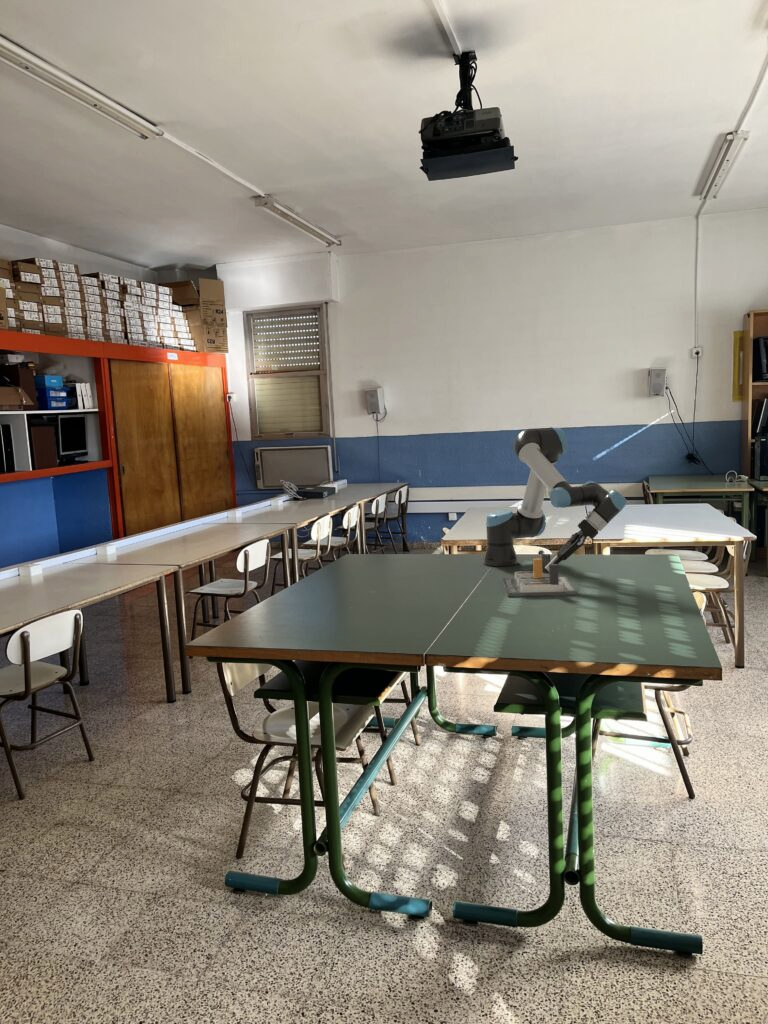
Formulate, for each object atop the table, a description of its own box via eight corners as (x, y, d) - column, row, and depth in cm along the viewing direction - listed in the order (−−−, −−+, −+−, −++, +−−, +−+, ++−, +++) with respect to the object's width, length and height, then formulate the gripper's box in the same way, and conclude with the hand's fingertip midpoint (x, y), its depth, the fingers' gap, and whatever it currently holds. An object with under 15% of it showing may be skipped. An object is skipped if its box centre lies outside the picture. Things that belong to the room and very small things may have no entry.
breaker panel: (502, 582, 298) (501, 554, 297) (565, 580, 296) (565, 553, 295) (507, 596, 274) (507, 567, 272) (577, 595, 272) (577, 565, 270)
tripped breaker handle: (533, 576, 286) (533, 558, 285) (541, 576, 286) (541, 558, 285) (534, 578, 284) (533, 559, 283) (542, 577, 283) (542, 559, 282)
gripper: (581, 516, 287) (538, 560, 290) (588, 520, 274) (542, 566, 277) (595, 529, 287) (552, 573, 291) (603, 534, 274) (557, 580, 278)
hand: (547, 570), depth 284 cm, fingers closed
